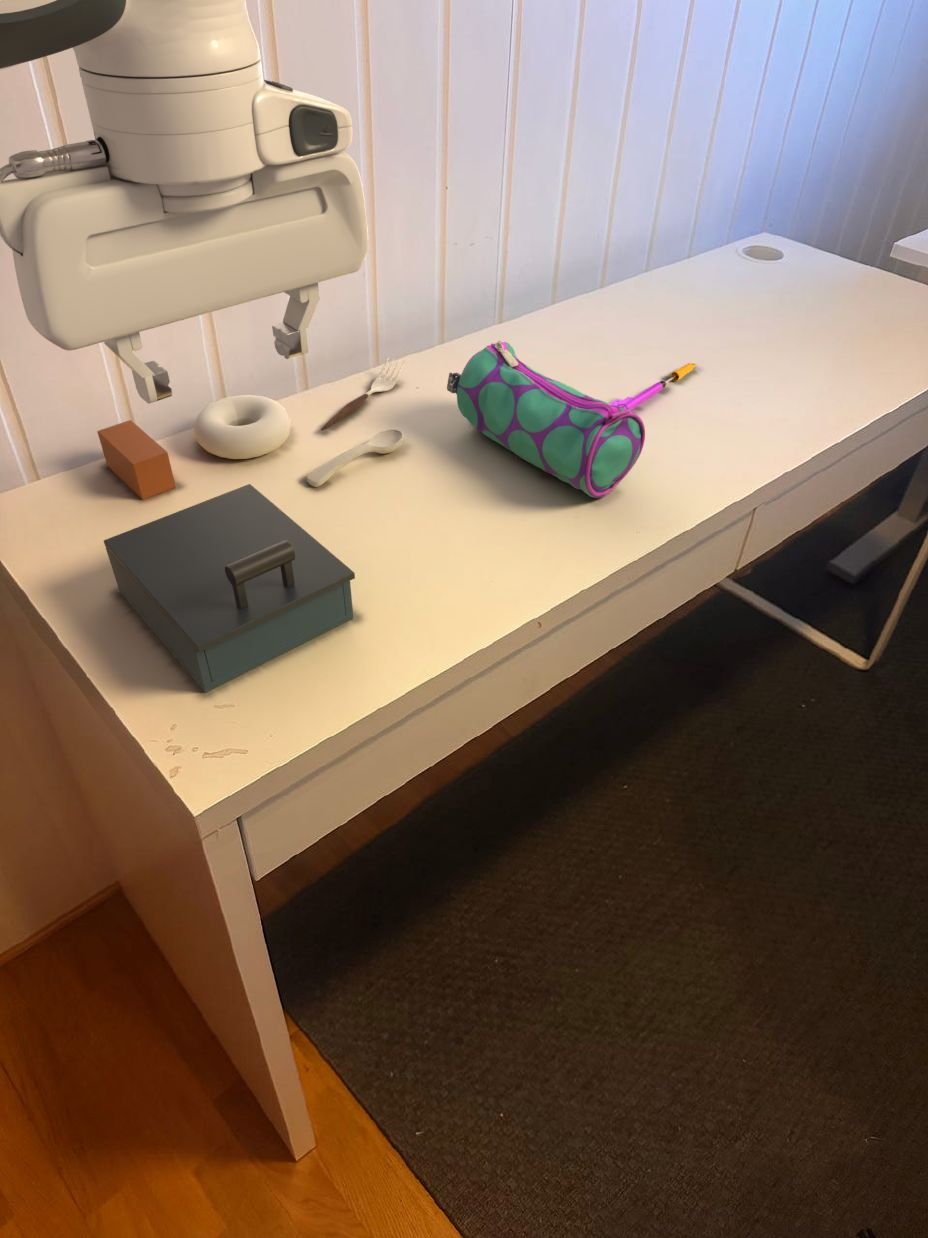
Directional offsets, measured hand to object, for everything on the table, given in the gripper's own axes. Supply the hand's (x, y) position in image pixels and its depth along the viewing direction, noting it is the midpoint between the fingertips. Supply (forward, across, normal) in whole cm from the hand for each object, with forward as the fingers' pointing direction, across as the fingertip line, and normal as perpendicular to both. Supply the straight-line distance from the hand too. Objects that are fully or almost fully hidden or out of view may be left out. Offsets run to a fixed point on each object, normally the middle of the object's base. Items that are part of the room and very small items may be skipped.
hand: (226, 374), depth 55 cm
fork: (+23, +28, +29) cm, 47 cm away
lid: (+18, 0, +6) cm, 19 cm away
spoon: (+23, +21, +18) cm, 36 cm away
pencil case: (+23, +36, +8) cm, 44 cm away
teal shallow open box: (+23, 0, +6) cm, 24 cm away
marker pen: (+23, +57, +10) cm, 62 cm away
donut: (+23, +14, +30) cm, 40 cm away
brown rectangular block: (+23, +2, +30) cm, 38 cm away
